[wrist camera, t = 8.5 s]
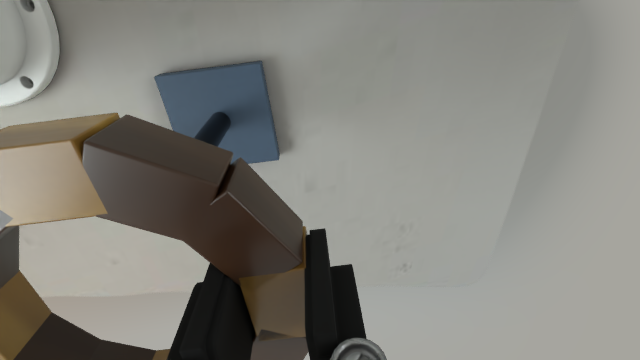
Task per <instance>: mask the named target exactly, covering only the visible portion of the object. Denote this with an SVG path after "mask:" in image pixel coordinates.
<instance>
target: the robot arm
mask: <svg viewBox="0 0 640 360" xmlns="http://www.w3.org/2000/svg"><path fill="white" fill-rule="evenodd" d="M59 54H60V48H59V35H58V30H57V26H56V22H55V18H54V15H53V13H52V11H51V8H50V6H49V3H48V1H47V0H0V107H6V106H11V105H15V104H19V103H21V102H24V101H26V100H29V99H32V98H33V97H35V96H36V95H38V94H39V93H41V92H42V91H43V90H44V89H45V88H46V87H47V86H48V84H49V83H50V82H51V81H52V79H53V76H54V74H55V72H56V70H57V66H58V60H59ZM305 241H306V268H305V269H304V281H305V334H306V342H307V347H308V351H309V356H310V360H387V359H386V356H385V354H384V352H383V351H382V350H381V348H380V347H379V346H378V345H377V344H375V343H374V342H372V341H370V340H367V339H366V334H365V329H364V323H363V319H362V313H361V308H360V303H359V298H358V292H357V287H356V282H355V277H354V272H353V267H352V264H349V265H341V266H333V267H330V261H329V253H328V246H327V238H326V231H325V229H317V230H310V235H306V237H305ZM253 332H254V327H253V324H252V321H251V318H250V315H249V312H248V309H247V306H246V302H245V299H244V296H243V293H242V290H241V287H240V286H239V285H238V284H236V283H235V282H234V281H233V280H231V278H229V277H228V276H226V275H225V274H224V273H223V272H221V271H220V270H219V269H218V268H216V267H215V266H214V265H213V264H211V263H210V265H209V267H208V270H207V273H206V276H205V279H204V281H203V282H200V283H197V284H196V285H195V287H194V289H193V291H192V294H191V297H190V299H189V302H188V304H187V307H186V309H185V312H184V315H183V317H182V320H181V323H180V325H179V328H178V330H177V333H176V336H175V338H174V341H173V344H172V346H171V349H170V351H169V354H168V357H167V359H166V360H251V353H252V346H253Z"/></svg>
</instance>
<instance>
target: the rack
mask: <svg viewBox="0 0 640 360" xmlns="http://www.w3.org/2000/svg"><path fill="white" fill-rule="evenodd" d="M154 78H155V81H156V83H157V86H158V89H159V92H160V95H161V98H162V100H163V103H164V106H165V109H166V112H167V114H168V117H169V120H170V123H171V126H172V129H173V131H175V132H178V133H181V134H183V135H186V136H189V137H192V138H195V139H197V140H200V141H203V142H206V143H208V144H211V145H214V146H217V147H220V148H222V149H225V150H228V151H231V152H233V158H232V161H231V163H233V162H234V161H235V160H237V159H238V158H240V157H241V158H242V159H243V160H244V161H245V162H246V163H247V164H250V163H258V162H266V161H274V160H279V155H280V153H279V148H278V143H277V137H276V132H275V127H274V122H273V117H272V111H271V106H270V101H269V96H268V91H267V85H266V80H265V75H264V70H263V65H262V61H257V62H249V63H241V64H233V65H225V66H218V67H210V68H202V69H194V70H187V71H179V72H171V73H163V74H159V75H157V76H155V77H154Z"/></svg>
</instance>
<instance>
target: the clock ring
mask: <svg viewBox="0 0 640 360" xmlns="http://www.w3.org/2000/svg"><path fill="white" fill-rule="evenodd" d="M232 158H233V152H231V151H228V150H225V149H222V148H220V147H217V146H214V145H211V144H208V143H206V142H203V141H200V140H197V139H195V138H192V137H189V136H186V135H183V134H181V133H178V132H175V131H172V130H169V129H167V128H164V127H161V126H158V125H155V124H153V123H150V122H147V121H144V120H141V119H139V118H136V117H133V116H130V115H125V116H123V117H122V118H120V117H119V115H118V113H109V114H101V115H93V116H85V117H77V118H69V119H61V120H53V121H45V122H37V123H29V124H21V125H13V126H8V127H5V128H3V129H1V130H0V360H166V359H167V357H168V354H169V351H170V349H166V350H157V351H156V350H151V349H145V348H141V347H135V346H130V345H125V344H121V343H115V342H110V341H105V340H101V339H99V338H97V337H95V336H93V335H92V334H90V333H88V332H86V331H84V330H83V329H81V328H79V327H77V326H75V325H74V324H72V323H70V322H68V321H66V320H64V319H63V318H61V317H59V316H57V315H56V314H54V313H52V312H51V310H50V309H49V308H48V307H47V305H46V304H45V303H44V301H43V300H42V299H41V297H40V296H39V295H38V294H37V292H36V291H35V290H34V288H33V287H32V286H31V285H30V283H29V282H28V281H27V279H26V278H25V277H24V275H23V274H22V273H21V272H20V270H19V225H27V224H35V223H43V222H51V221H60V220H68V219H76V218H84V217H93V216H96V217H100V218H103V219H107V220H111V221H114V222H118V223H121V224H125V225H128V226H132V227H136V228H139V229H143V230H146V231H150V232H153V233H157V234H160V235H164V236H168V237H171V238H175V239H178V240H182V241H184V242H185V243H186V244H188V245H189V246H190V247H191V248H193V249H194V250H195V251H196V252H198V253H199V254H200V255H201V256H203V257H204V258H205V259H206V260H208V261H209V262H210V263H211V264H213V265H214V266H215V267H216V268H218V269H219V270H220V271H221V272H223V273H224V274H225V275H226V276H228V277H229V278H231V280H233V281H234V282H235V283H236V284H238V285H239V286H240V287H241V290H242V293H243V296H244V299H245V302H246V306H247V309H248V312H249V315H250V318H251V321H252V324H253V327H254V332H253V346H252V353H251V360H303V359H304V358H305V356H306V355H307V353H308V352H309V351H308V347H307V342H306V334H305V281H304V269H305V268H306V241H305V237H306V235H307V230H306V227H305V226H303V222H302V220H301V219H300V218H299V217H298V216H297V215H296V214H295V213H294V212H293V211H292V210H291V209H290V208H289V207H288V205H287V204H286V203H285V202H284V201H283V200H282V199H281V198H280V197H279V196H278V195H277V194H276V193H275V192H274V191H273V190H272V189H271V188H270V187H269V186H268V185H267V184H266V183H265V182H264V181H263V179H262V178H261V177H260V176H259V175H258V174H257V173H256V172H255V171H254V170H253V169H252V168H251V167H250V166H249V165H248V164H247V163H246V162H245V161H244V160H243V159H242V158H241V157H240V158H238V159H237V160H235V161H234V162H233V163H231V161H232Z"/></svg>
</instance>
